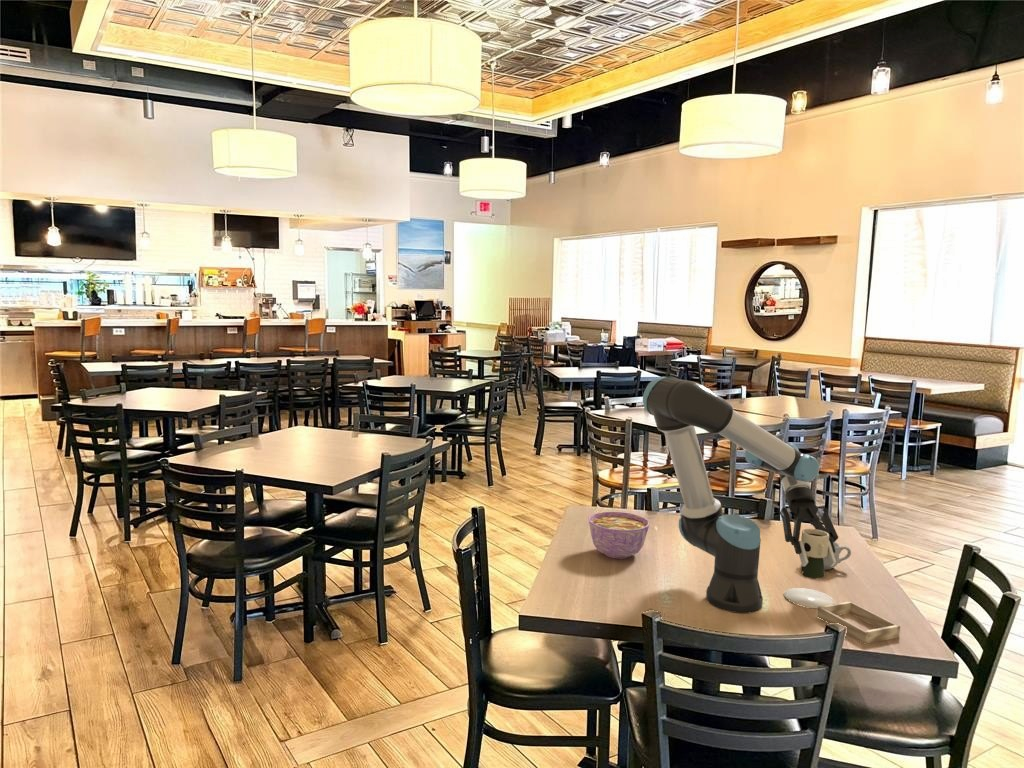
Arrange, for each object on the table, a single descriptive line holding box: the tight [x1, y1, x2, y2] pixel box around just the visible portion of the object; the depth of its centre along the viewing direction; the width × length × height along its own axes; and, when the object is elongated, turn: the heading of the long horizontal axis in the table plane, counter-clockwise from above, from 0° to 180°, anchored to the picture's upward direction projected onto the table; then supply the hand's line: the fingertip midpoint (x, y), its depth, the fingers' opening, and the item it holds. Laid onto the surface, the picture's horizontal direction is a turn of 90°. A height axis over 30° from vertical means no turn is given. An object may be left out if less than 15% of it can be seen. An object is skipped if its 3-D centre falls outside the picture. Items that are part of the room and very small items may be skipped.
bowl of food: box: [588, 511, 650, 559], centre depth 232 cm, size 20×20×12 cm
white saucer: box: [783, 587, 835, 610], centre depth 201 cm, size 13×13×1 cm
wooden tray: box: [816, 600, 901, 644], centre depth 184 cm, size 12×16×3 cm
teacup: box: [823, 541, 852, 571], centre depth 226 cm, size 14×11×8 cm
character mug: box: [800, 528, 829, 580], centre depth 200 cm, size 11×7×13 cm, turn 0°
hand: (819, 564), depth 197 cm, fingers closed on character mug, 7 cm apart
